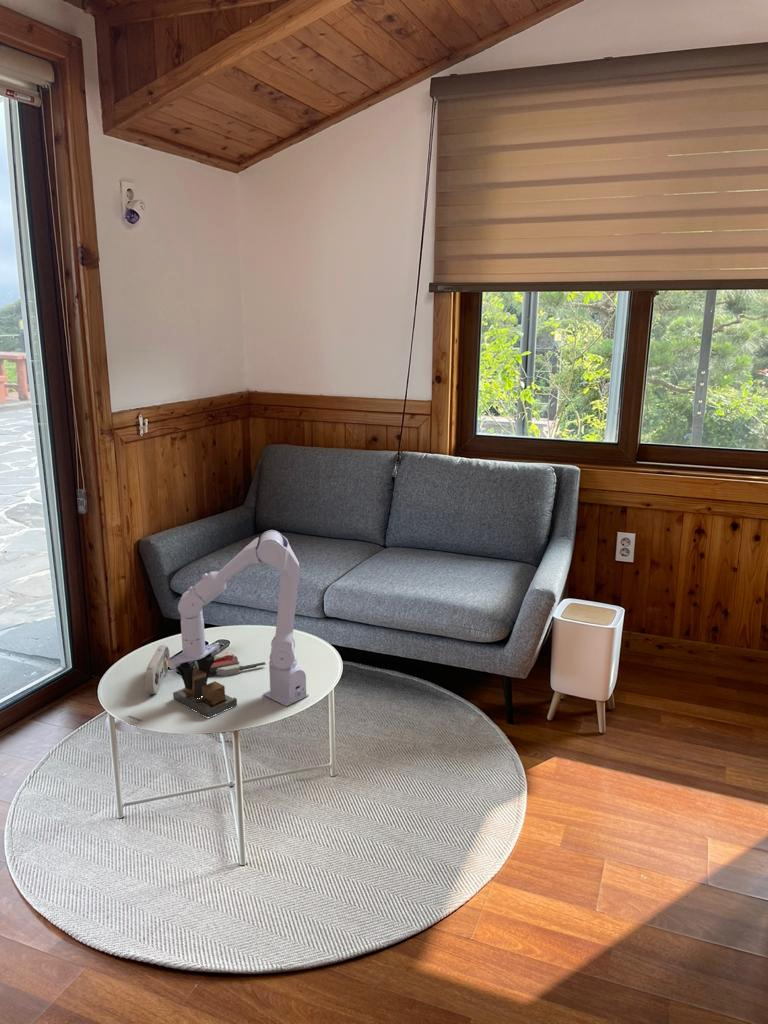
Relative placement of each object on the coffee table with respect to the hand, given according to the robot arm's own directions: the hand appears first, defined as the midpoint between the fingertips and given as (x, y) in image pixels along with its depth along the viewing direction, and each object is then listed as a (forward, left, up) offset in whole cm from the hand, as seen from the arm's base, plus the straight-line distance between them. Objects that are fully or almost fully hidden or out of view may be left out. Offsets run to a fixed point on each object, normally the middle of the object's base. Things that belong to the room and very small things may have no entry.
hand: (196, 685), depth 201 cm
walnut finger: (0, 0, -3) cm, 3 cm away
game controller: (+15, +1, -4) cm, 16 cm away
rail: (-4, 0, -4) cm, 5 cm away
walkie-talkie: (+8, -16, -4) cm, 19 cm away
